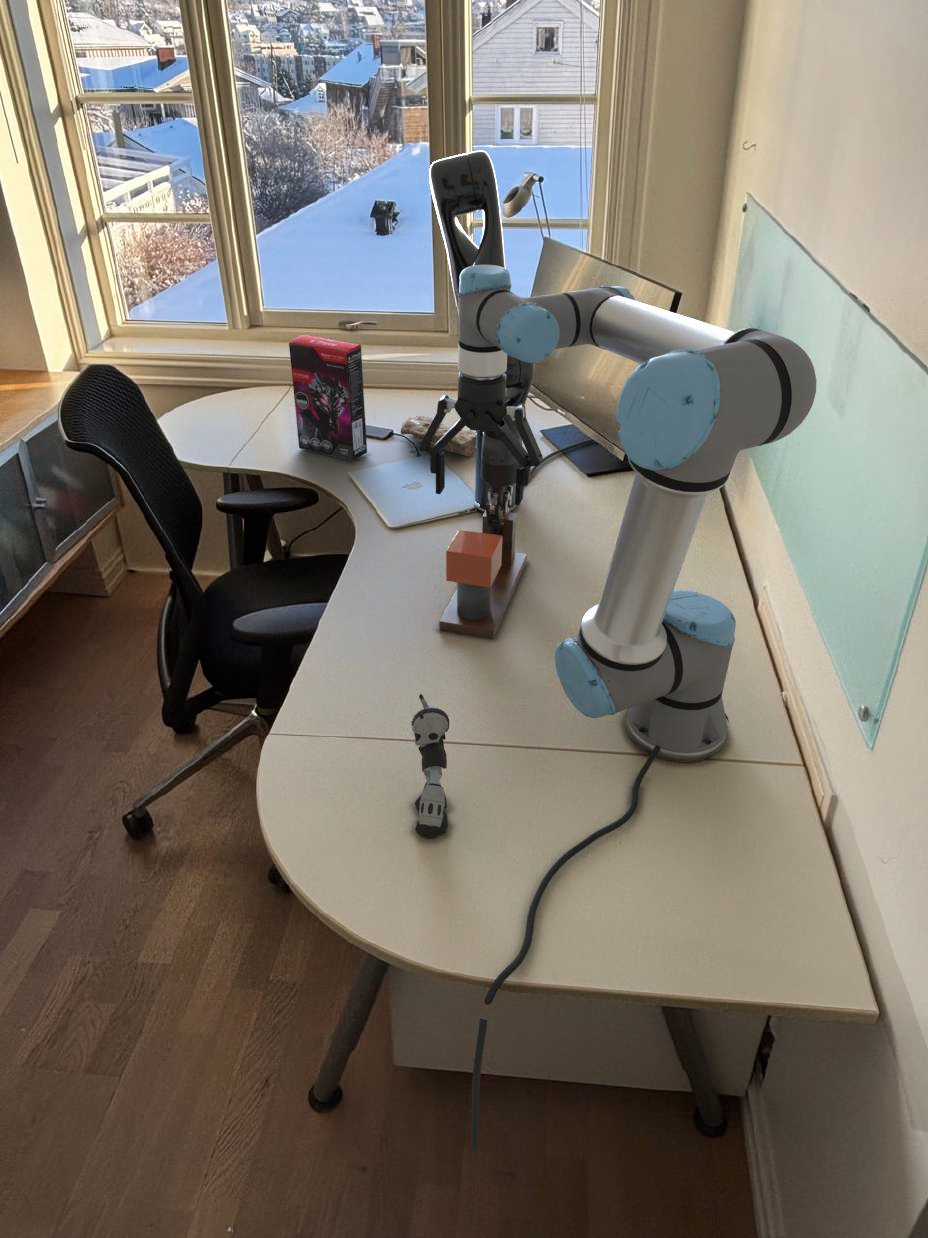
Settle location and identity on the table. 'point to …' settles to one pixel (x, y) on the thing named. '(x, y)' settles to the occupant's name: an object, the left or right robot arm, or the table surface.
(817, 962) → the table surface
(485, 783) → the table surface
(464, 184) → the left robot arm
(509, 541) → the walnut stand
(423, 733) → the robot
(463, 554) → the terracotta cap
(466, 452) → the stone
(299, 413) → the graphics card box
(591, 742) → the table surface
